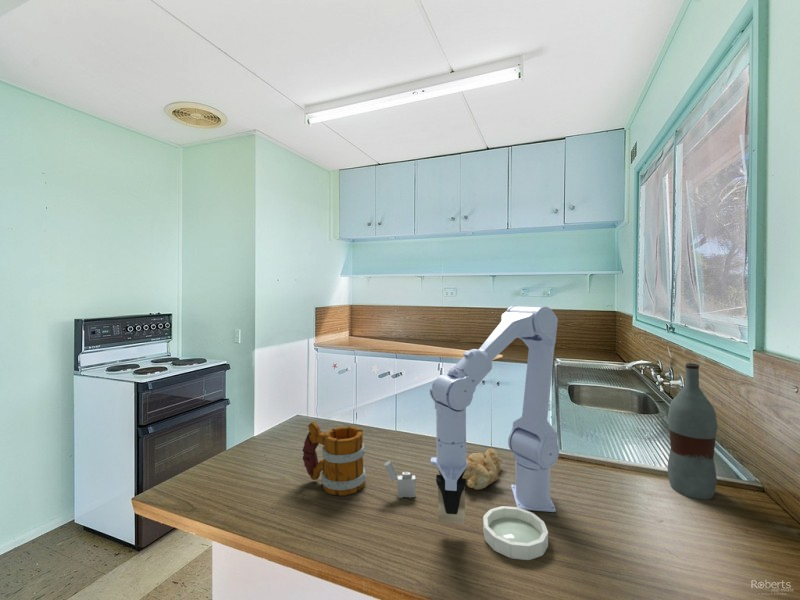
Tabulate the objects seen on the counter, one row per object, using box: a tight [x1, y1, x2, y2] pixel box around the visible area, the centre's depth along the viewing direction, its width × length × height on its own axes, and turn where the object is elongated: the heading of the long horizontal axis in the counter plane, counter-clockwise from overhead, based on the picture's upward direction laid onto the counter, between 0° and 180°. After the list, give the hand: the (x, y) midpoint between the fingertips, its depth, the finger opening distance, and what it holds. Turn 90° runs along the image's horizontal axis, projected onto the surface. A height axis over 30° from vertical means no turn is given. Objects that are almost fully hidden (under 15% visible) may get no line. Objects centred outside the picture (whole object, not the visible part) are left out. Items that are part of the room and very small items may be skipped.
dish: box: [482, 505, 549, 561], centre depth 69 cm, size 12×12×2 cm
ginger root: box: [462, 447, 503, 491], centre depth 91 cm, size 16×16×8 cm
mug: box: [302, 421, 367, 497], centre depth 89 cm, size 11×16×15 cm, turn 78°
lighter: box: [384, 460, 417, 499], centre depth 84 cm, size 7×2×8 cm, turn 91°
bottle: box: [667, 362, 718, 500], centre depth 85 cm, size 9×9×30 cm
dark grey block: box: [437, 487, 466, 525], centre depth 70 cm, size 3×5×7 cm, turn 81°
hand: (451, 507), depth 70 cm, fingers closed on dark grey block, 3 cm apart
